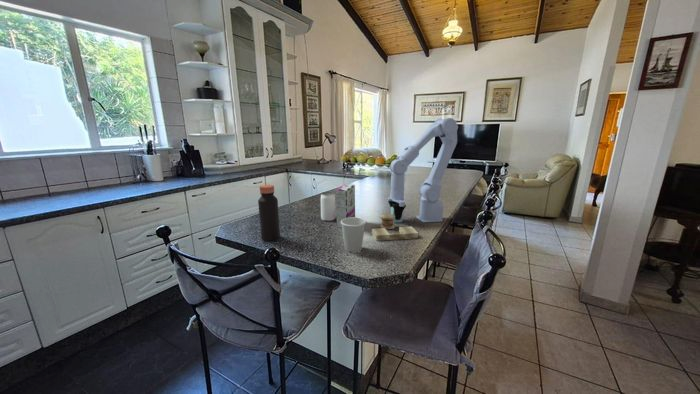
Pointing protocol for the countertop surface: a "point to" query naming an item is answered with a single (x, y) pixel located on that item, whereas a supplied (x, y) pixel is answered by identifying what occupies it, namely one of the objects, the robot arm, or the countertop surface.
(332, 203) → the can
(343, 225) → the dixie cup
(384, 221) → the spool
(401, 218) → the pale teal block
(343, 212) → the candy bar box
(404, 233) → the notch board
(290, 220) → the countertop surface
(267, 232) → the bottle
